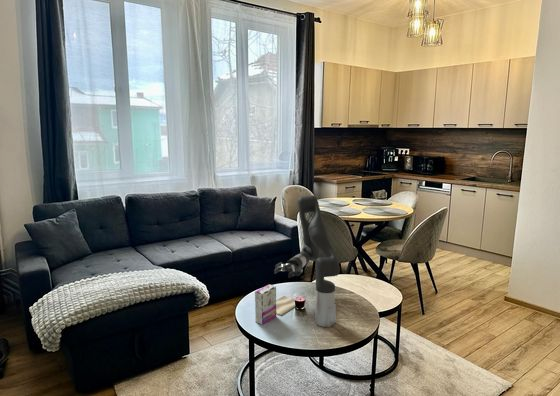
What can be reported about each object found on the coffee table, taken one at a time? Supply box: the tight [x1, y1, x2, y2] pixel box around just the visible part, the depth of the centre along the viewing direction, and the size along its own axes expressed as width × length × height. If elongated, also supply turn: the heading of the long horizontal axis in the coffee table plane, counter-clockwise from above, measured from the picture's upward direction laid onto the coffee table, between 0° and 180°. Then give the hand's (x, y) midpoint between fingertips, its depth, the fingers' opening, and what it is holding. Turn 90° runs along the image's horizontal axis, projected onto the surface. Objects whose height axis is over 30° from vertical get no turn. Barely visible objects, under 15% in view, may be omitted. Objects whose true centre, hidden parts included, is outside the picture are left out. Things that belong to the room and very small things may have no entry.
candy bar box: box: [254, 284, 277, 326], centre depth 189 cm, size 11×5×16 cm, turn 143°
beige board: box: [276, 295, 295, 317], centre depth 205 cm, size 12×19×1 cm, turn 144°
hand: (281, 274), depth 197 cm, fingers open, 8 cm apart
